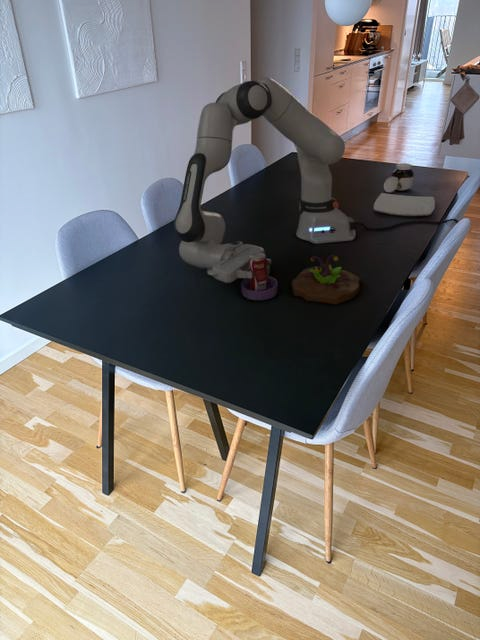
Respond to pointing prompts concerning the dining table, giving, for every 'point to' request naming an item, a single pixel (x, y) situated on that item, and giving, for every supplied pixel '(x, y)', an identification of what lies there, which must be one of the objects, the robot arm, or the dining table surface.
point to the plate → (404, 205)
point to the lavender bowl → (259, 295)
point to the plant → (326, 283)
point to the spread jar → (400, 179)
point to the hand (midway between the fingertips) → (261, 268)
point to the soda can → (258, 272)
